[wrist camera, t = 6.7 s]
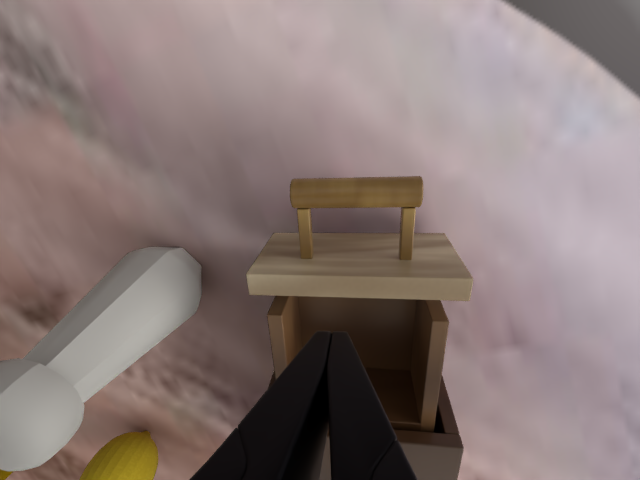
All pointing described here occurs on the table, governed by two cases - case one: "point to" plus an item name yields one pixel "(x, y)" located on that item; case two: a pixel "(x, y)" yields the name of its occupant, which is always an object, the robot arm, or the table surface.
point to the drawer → (366, 291)
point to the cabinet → (423, 445)
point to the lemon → (124, 459)
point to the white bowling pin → (92, 351)
